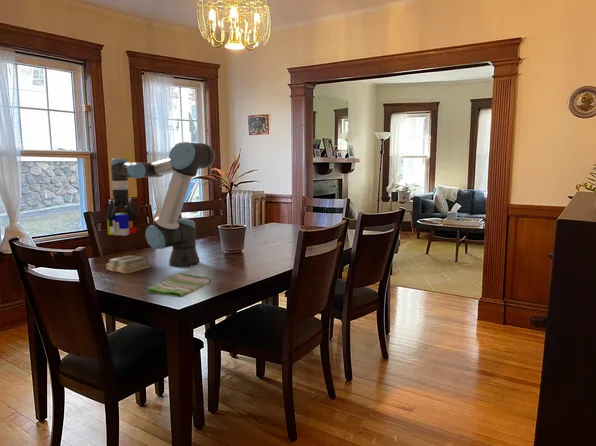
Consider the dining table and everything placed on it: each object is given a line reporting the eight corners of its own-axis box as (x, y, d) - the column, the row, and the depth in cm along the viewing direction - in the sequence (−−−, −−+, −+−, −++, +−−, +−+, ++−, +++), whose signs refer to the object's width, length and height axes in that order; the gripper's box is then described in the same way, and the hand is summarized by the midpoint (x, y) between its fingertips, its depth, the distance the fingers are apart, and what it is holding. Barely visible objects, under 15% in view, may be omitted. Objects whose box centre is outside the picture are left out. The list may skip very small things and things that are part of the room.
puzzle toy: (125, 235, 222) (124, 215, 221) (107, 234, 224) (106, 215, 223) (136, 232, 232) (135, 213, 230) (119, 231, 234) (118, 213, 232)
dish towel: (212, 283, 193) (212, 275, 192) (182, 298, 171) (182, 289, 171) (179, 279, 198) (179, 271, 198) (145, 293, 177) (145, 285, 176)
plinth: (149, 267, 217) (149, 257, 217) (126, 273, 205) (126, 263, 204) (129, 264, 224) (129, 254, 223) (106, 269, 212) (105, 259, 211)
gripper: (133, 187, 237) (135, 227, 240) (95, 189, 216) (97, 233, 219) (143, 188, 233) (145, 228, 236) (105, 190, 213) (107, 234, 216)
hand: (122, 231), depth 228 cm, fingers closed on puzzle toy, 11 cm apart
